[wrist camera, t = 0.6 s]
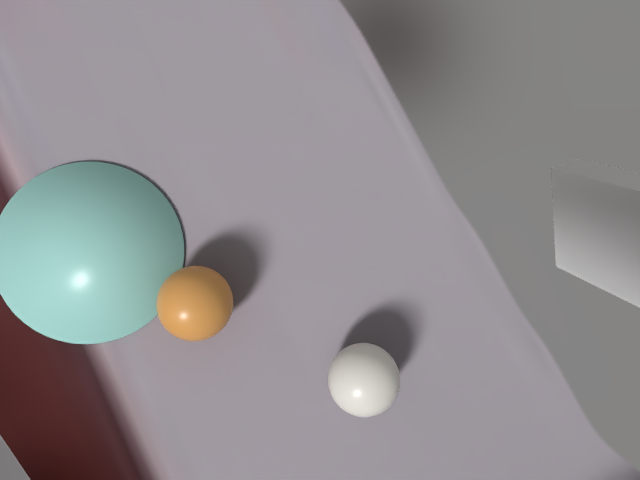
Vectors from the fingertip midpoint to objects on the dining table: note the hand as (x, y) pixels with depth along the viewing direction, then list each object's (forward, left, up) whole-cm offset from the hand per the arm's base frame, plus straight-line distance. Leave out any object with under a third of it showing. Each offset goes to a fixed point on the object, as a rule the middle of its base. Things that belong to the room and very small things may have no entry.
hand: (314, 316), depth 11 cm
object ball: (+4, +3, -27) cm, 28 cm away
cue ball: (-10, +3, -27) cm, 29 cm away
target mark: (+13, +3, -30) cm, 33 cm away
